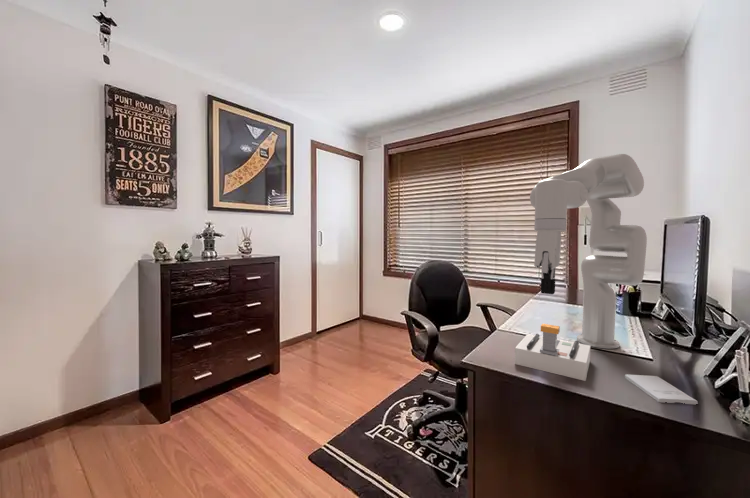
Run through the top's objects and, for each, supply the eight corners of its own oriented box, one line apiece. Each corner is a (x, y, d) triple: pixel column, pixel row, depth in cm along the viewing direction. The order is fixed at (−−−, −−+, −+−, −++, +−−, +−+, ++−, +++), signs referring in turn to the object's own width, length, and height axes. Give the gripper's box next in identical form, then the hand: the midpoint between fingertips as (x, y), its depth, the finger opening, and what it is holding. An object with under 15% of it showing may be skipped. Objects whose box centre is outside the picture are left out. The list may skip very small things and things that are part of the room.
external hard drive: (657, 381, 86) (697, 406, 73) (624, 380, 87) (658, 404, 75) (658, 375, 86) (698, 400, 73) (624, 374, 87) (658, 397, 74)
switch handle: (542, 348, 94) (542, 323, 94) (559, 352, 91) (559, 326, 91) (539, 352, 91) (540, 326, 91) (557, 356, 89) (557, 329, 88)
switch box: (526, 348, 109) (527, 330, 108) (589, 361, 98) (590, 341, 97) (514, 363, 96) (515, 343, 96) (585, 380, 85) (586, 358, 85)
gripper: (540, 226, 93) (538, 288, 94) (528, 225, 82) (526, 295, 83) (569, 226, 89) (567, 291, 90) (561, 225, 77) (559, 299, 78)
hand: (547, 293), depth 86 cm, fingers closed
